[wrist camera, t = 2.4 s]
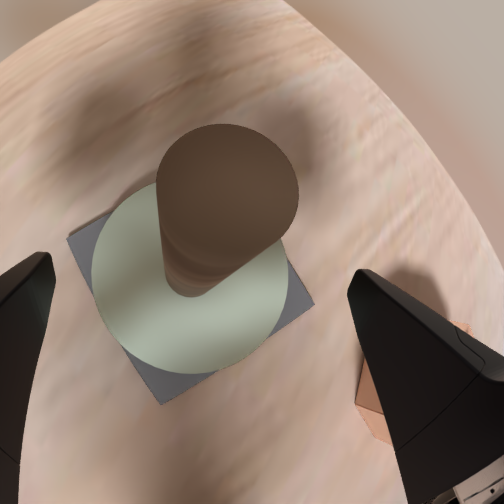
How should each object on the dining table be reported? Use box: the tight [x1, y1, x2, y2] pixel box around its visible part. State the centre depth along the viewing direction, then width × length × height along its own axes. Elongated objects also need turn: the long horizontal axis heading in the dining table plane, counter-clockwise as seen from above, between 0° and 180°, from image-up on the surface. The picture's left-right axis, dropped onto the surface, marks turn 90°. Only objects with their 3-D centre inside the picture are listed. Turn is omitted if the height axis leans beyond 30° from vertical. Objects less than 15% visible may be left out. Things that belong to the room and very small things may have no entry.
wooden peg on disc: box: [91, 124, 299, 374], centre depth 12 cm, size 11×11×12 cm
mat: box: [66, 210, 315, 405], centre depth 18 cm, size 11×11×1 cm
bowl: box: [355, 320, 474, 446], centre depth 18 cm, size 9×9×4 cm
